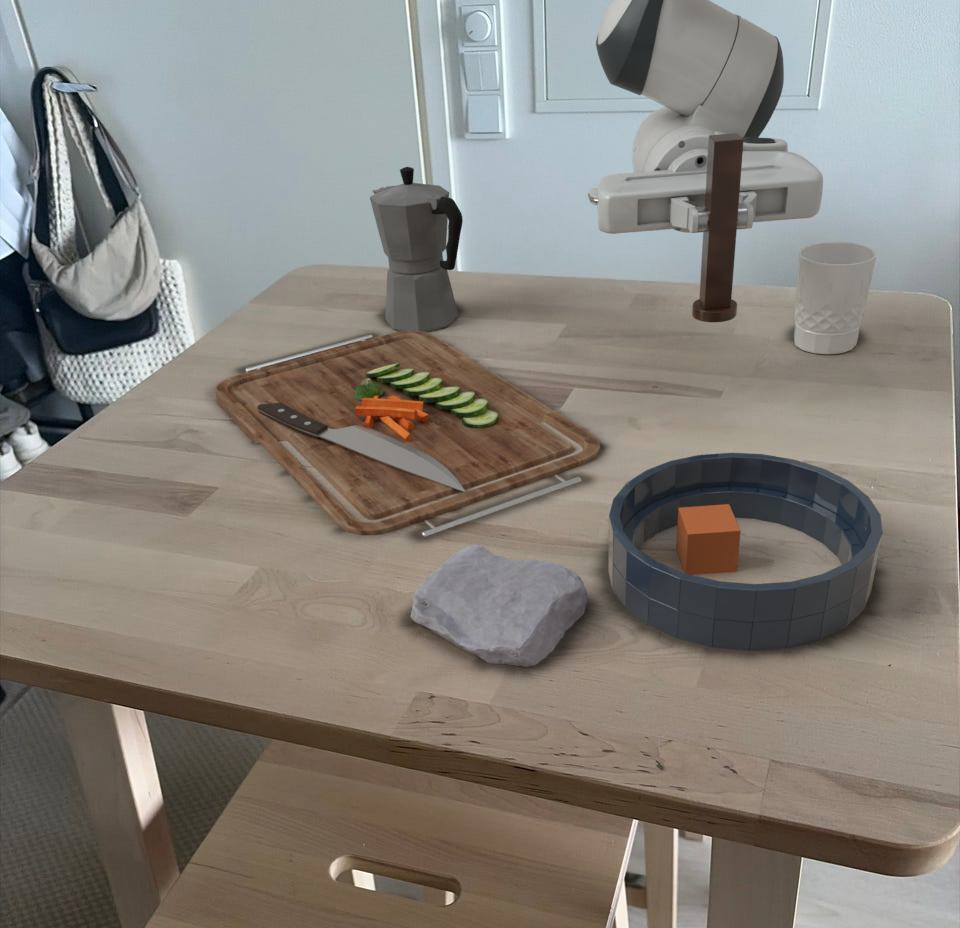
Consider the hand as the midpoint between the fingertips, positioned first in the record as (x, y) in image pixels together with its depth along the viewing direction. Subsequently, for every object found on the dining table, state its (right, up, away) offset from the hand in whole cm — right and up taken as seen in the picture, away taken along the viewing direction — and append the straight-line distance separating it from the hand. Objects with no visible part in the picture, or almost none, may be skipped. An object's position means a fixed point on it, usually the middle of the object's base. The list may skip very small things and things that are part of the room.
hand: (723, 221), depth 89 cm
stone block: (-20, -35, -11) cm, 42 cm away
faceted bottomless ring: (-1, -31, -8) cm, 33 cm away
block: (-3, -30, -7) cm, 31 cm away
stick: (+1, -6, +6) cm, 9 cm away
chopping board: (-30, -14, +18) cm, 37 cm away
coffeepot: (-28, +4, +41) cm, 49 cm away
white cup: (+18, -3, +27) cm, 33 cm away
